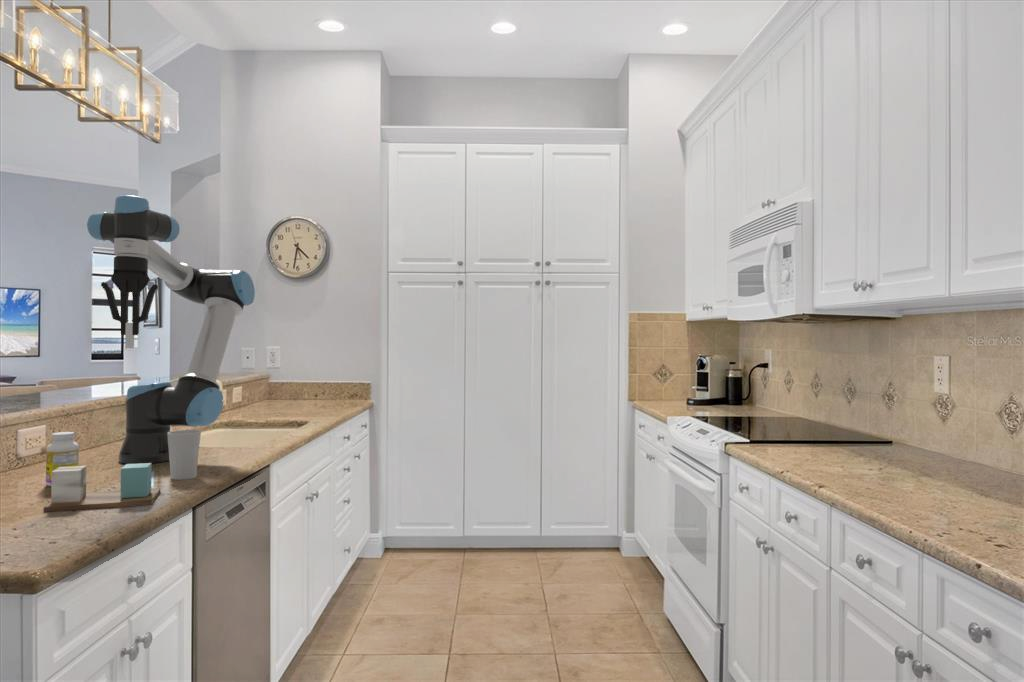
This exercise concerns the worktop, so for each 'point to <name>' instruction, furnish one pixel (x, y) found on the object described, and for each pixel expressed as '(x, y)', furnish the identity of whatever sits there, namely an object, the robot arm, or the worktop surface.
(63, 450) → the supplement bottle
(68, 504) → the peg board
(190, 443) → the cup
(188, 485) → the worktop surface
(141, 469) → the turquoise rounded cube
